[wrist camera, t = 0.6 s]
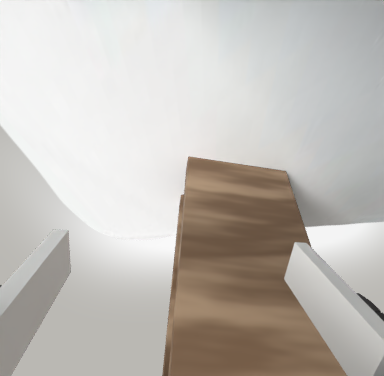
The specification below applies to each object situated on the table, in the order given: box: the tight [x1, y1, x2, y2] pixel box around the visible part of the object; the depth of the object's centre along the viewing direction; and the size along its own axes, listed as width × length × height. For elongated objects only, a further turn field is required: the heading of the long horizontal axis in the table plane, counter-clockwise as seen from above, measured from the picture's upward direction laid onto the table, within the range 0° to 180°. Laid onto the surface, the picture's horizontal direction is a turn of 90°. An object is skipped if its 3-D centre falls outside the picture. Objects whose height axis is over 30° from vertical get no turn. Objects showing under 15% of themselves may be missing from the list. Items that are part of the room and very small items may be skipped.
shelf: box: [162, 157, 347, 376], centre depth 27 cm, size 10×20×30 cm, turn 81°
